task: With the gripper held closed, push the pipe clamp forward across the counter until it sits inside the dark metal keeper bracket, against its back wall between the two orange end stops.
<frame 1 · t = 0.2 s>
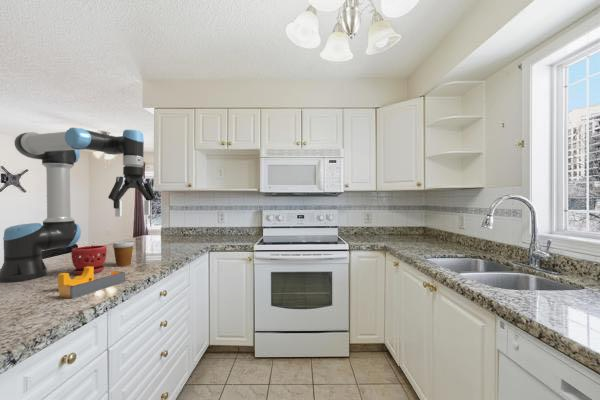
hand: (133, 215, 117), 28 cm above the worktop, tool pointing down, fingers open, 13 cm apart
disposable coffee cup: (123, 265, 141), on the worktop
keeper bracket: (96, 288, 105), on the worktop
pipe clamp: (75, 286, 108), on the worktop
plant pot: (89, 272, 128), on the worktop
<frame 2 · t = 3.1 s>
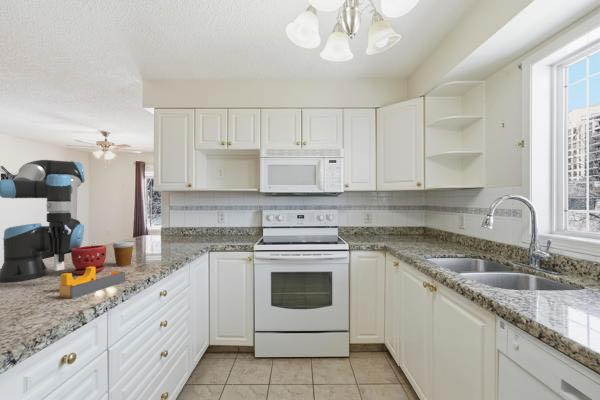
hand: (59, 269, 111), 6 cm above the worktop, tool pointing down, fingers closed
pipe clamp: (77, 286, 108), on the worktop
plant pot: (89, 272, 128), on the worktop, touching arm
everything else where it was.
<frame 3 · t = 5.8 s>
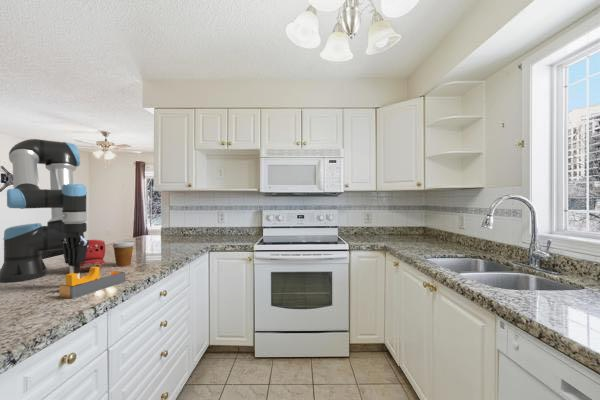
hand: (74, 281, 108), 2 cm above the worktop, tool pointing down, fingers closed
pipe clamp: (81, 287, 108), on the worktop
plant pot: (89, 268, 129), point 2 cm above the worktop, touching arm
everything else where it was.
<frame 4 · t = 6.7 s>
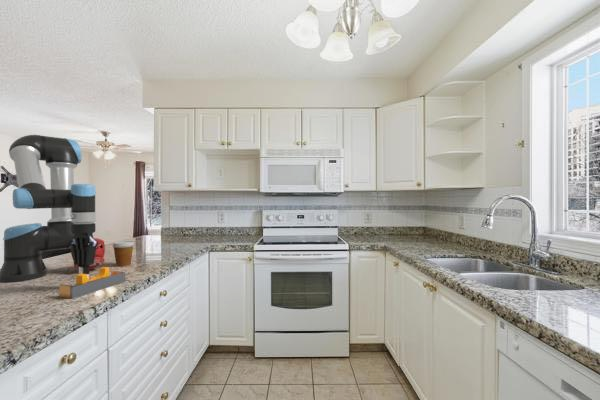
hand: (83, 282, 107), 2 cm above the worktop, tool pointing down, fingers closed
pipe clamp: (91, 287, 107), on the worktop, touching gripper
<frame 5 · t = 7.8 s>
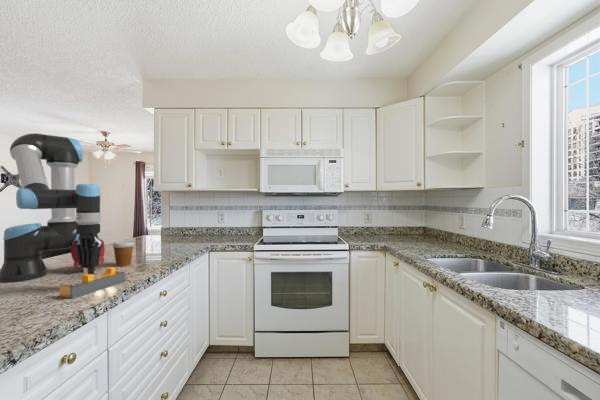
hand: (88, 283, 106), 2 cm above the worktop, tool pointing down, fingers closed
pipe clamp: (97, 288, 107), on the worktop, touching gripper
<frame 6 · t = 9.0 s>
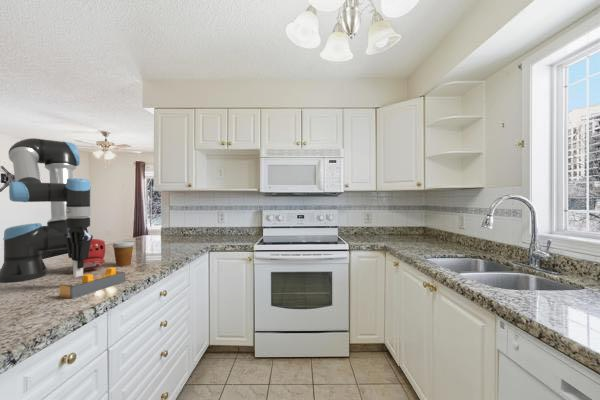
hand: (78, 275, 108), 4 cm above the worktop, tool pointing down, fingers closed
pipe clamp: (98, 288, 107), on the worktop
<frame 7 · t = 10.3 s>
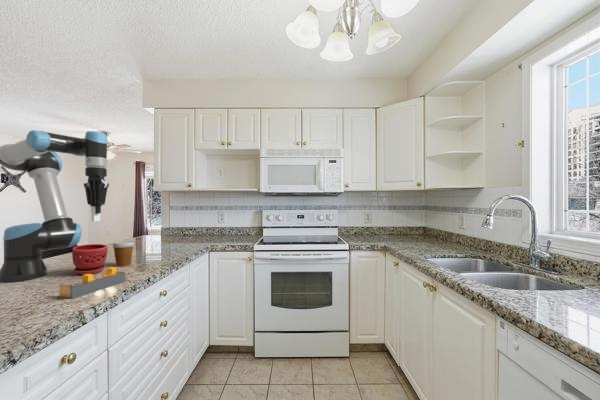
hand: (96, 220, 119), 25 cm above the worktop, tool pointing down, fingers closed
plant pot: (89, 271, 128), on the worktop
everything else where it was.
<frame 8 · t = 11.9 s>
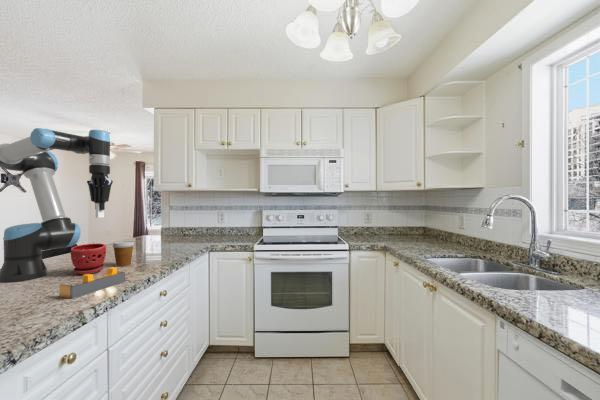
hand: (99, 217, 122), 26 cm above the worktop, tool pointing down, fingers closed
at the end: pipe clamp inside the target area on the keeper bracket (2.4 cm from its centre), point 0.0 cm above the keeper bracket's base; pipe clamp moved 11.0 cm from its start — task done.
